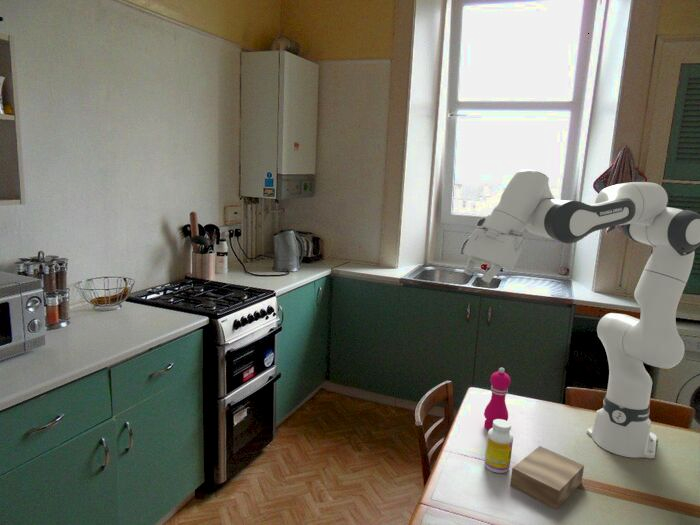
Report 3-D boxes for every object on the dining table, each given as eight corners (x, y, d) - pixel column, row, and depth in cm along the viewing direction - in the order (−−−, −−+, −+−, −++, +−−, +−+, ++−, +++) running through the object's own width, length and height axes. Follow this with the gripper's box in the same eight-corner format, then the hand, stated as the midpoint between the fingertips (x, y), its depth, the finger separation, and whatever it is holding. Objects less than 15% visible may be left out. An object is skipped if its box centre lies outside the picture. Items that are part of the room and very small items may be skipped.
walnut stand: (537, 462, 140) (539, 445, 139) (581, 482, 132) (584, 465, 131) (509, 485, 129) (512, 467, 128) (556, 509, 121) (559, 490, 120)
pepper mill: (487, 419, 163) (494, 361, 159) (509, 427, 159) (517, 367, 155) (479, 428, 157) (486, 367, 153) (501, 436, 153) (509, 374, 149)
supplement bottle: (510, 476, 133) (516, 431, 131) (484, 471, 134) (490, 427, 132) (507, 462, 139) (513, 419, 137) (483, 458, 141) (488, 415, 138)
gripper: (537, 239, 116) (507, 292, 117) (492, 230, 136) (467, 275, 136) (516, 226, 114) (486, 280, 115) (474, 219, 134) (449, 265, 135)
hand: (475, 277), depth 126 cm, fingers open, 8 cm apart
